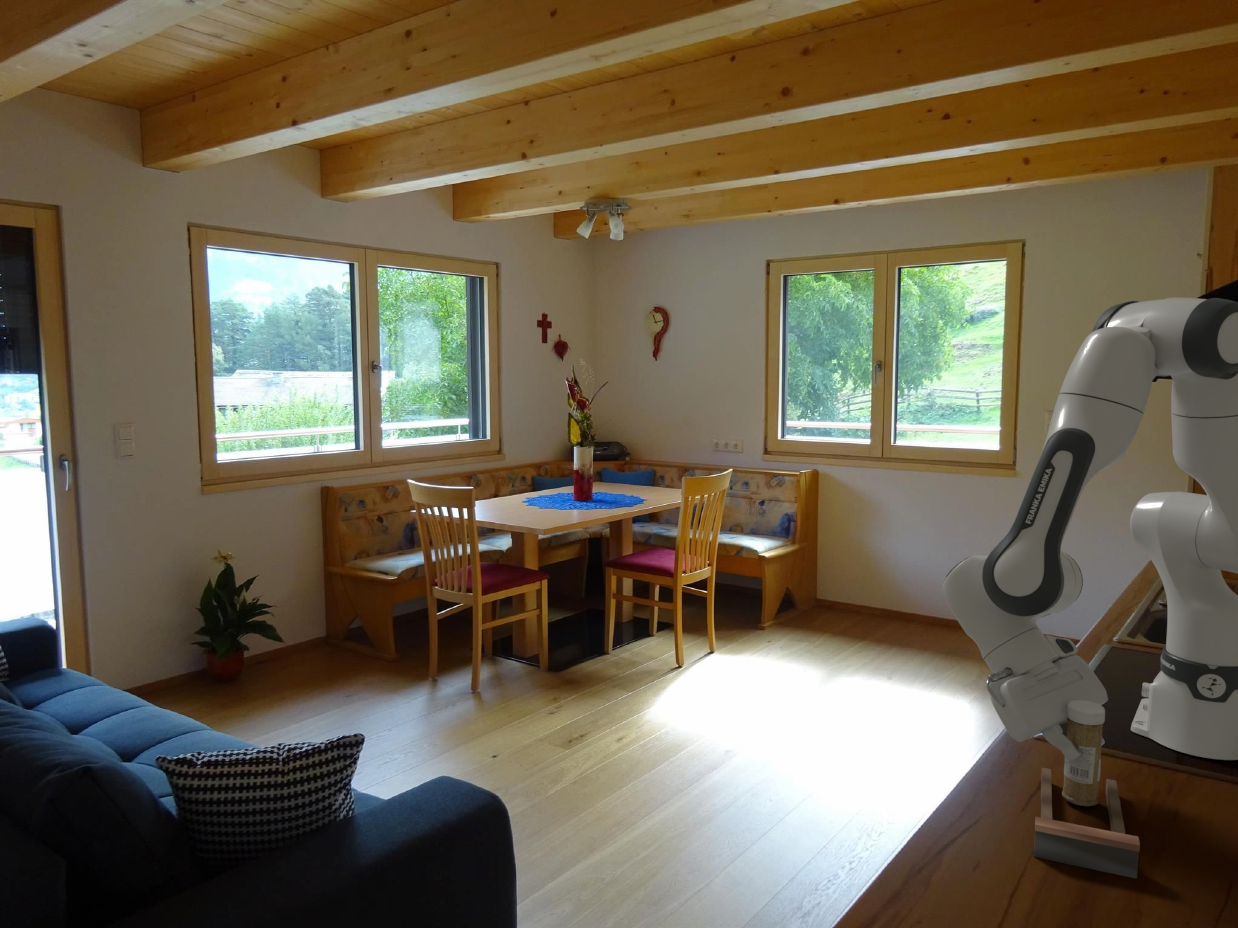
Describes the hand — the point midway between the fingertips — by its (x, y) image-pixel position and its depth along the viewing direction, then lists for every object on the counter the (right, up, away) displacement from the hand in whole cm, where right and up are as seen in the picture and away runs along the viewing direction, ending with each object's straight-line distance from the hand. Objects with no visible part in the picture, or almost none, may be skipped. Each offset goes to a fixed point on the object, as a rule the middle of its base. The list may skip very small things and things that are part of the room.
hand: (1087, 752), depth 123 cm
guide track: (-3, -8, -4) cm, 10 cm away
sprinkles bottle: (0, -7, +1) cm, 7 cm away
